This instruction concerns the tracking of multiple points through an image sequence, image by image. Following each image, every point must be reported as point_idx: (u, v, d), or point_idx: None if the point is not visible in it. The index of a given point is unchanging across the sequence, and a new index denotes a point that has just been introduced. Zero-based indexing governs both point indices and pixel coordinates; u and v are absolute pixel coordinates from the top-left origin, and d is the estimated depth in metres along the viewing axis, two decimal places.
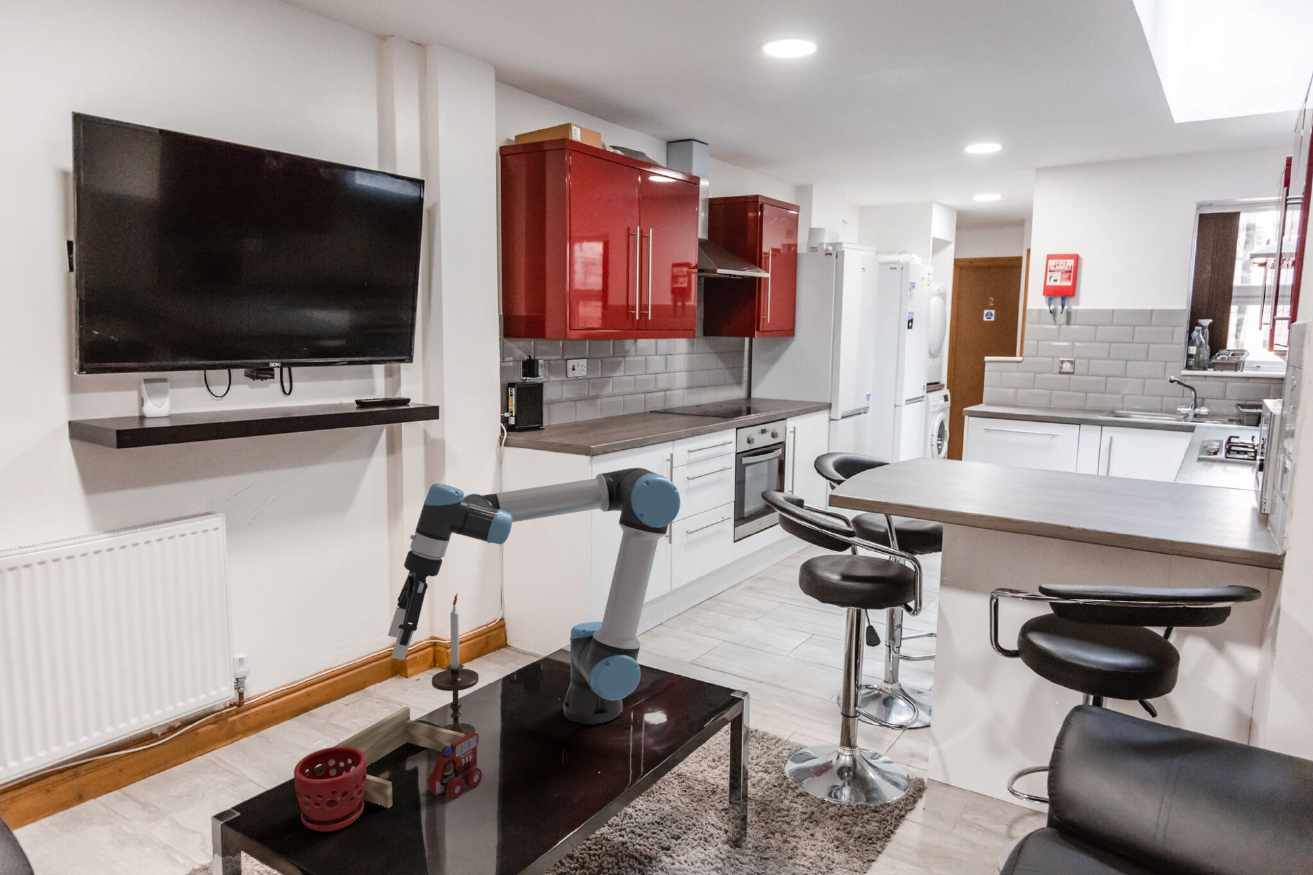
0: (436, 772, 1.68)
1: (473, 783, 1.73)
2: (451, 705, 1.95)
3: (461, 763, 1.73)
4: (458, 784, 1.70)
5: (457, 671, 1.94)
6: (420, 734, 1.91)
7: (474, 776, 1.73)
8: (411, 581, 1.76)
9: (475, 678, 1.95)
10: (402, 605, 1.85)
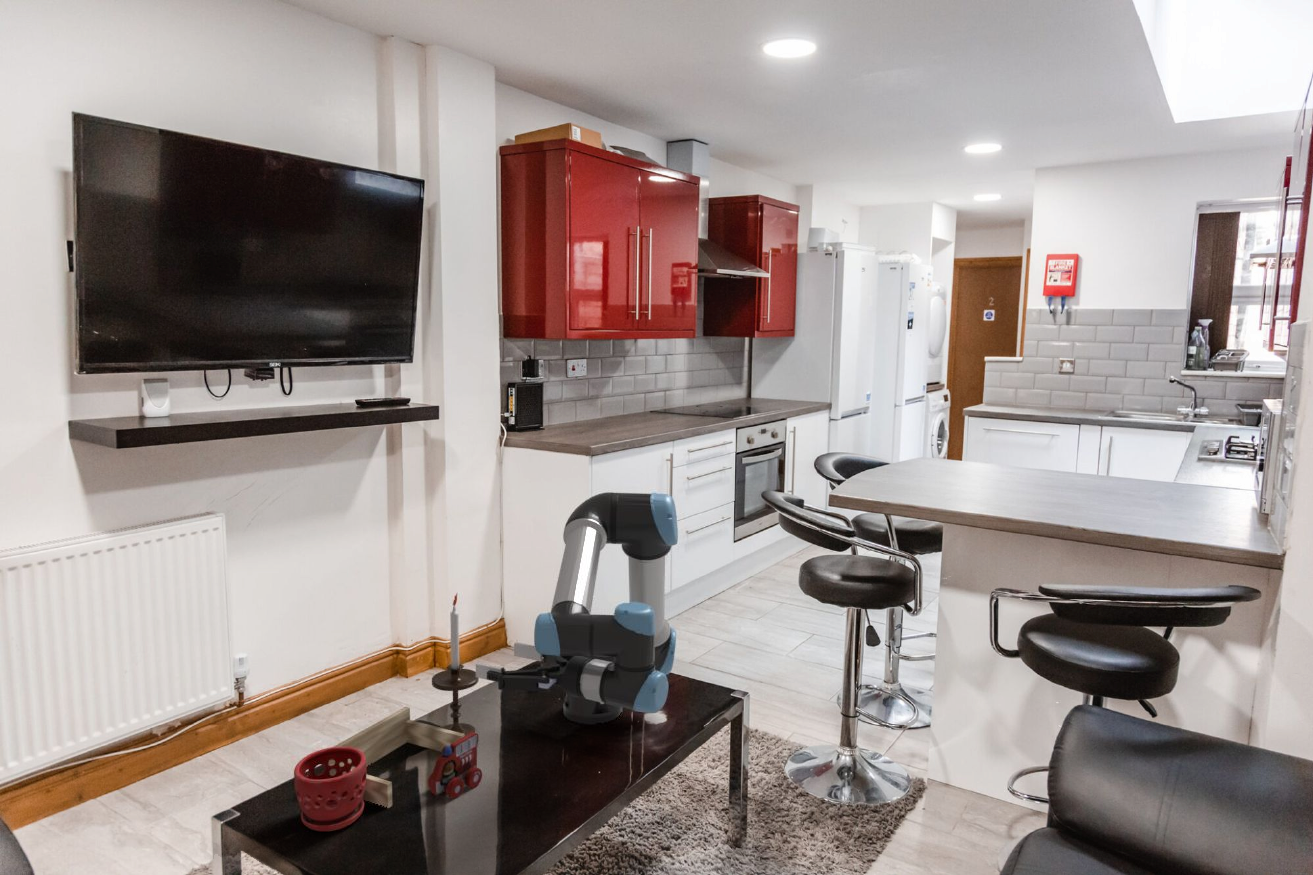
0: (436, 772, 1.68)
1: (473, 783, 1.73)
2: (451, 705, 1.95)
3: (461, 763, 1.73)
4: (458, 784, 1.70)
5: (457, 671, 1.94)
6: (420, 734, 1.91)
7: (474, 776, 1.73)
8: None
9: (475, 678, 1.95)
10: None
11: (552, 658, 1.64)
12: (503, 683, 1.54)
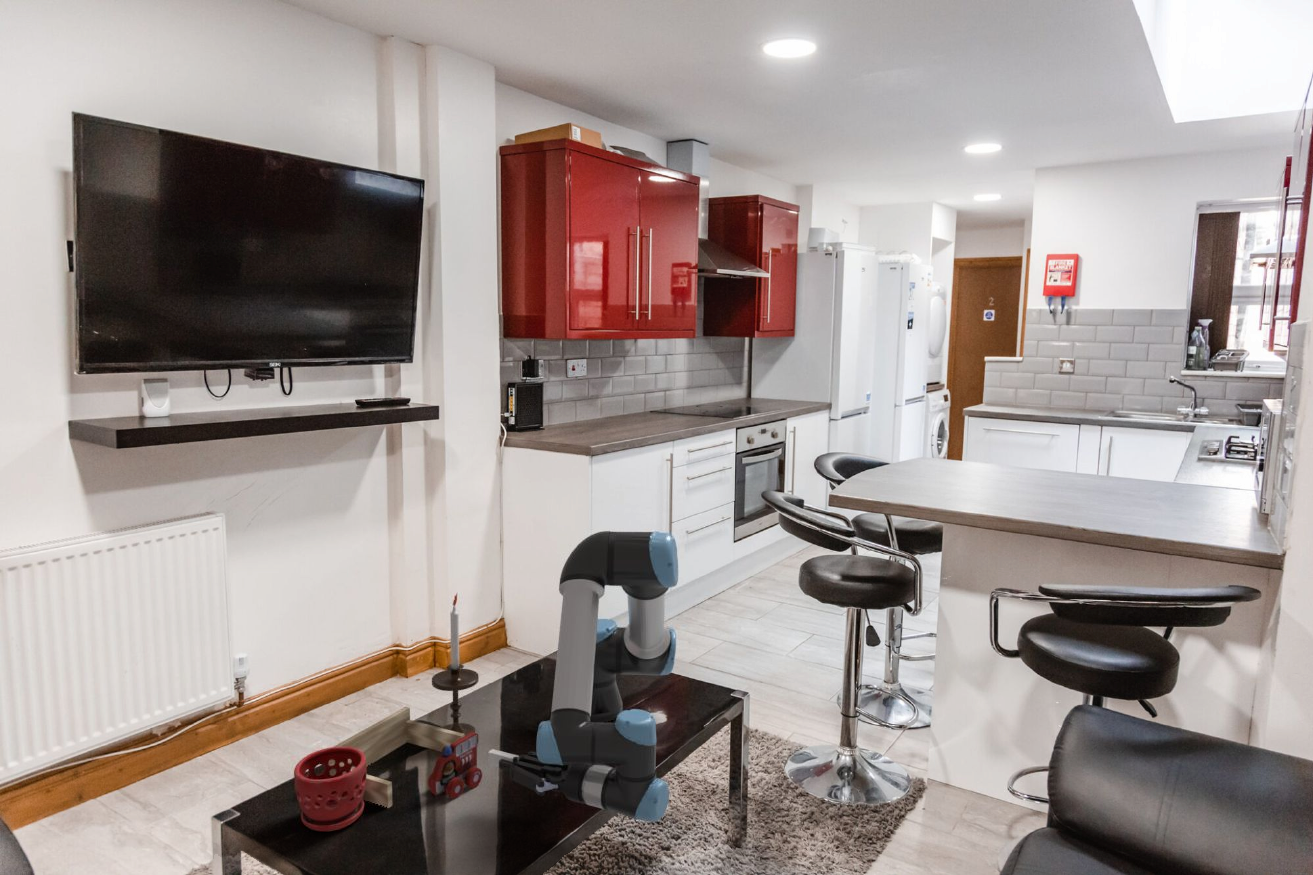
0: (436, 772, 1.68)
1: (473, 783, 1.73)
2: (451, 705, 1.95)
3: (461, 763, 1.73)
4: (458, 784, 1.70)
5: (457, 671, 1.94)
6: (420, 734, 1.91)
7: (474, 776, 1.73)
8: None
9: (475, 678, 1.95)
10: None
11: (542, 764, 1.63)
12: None
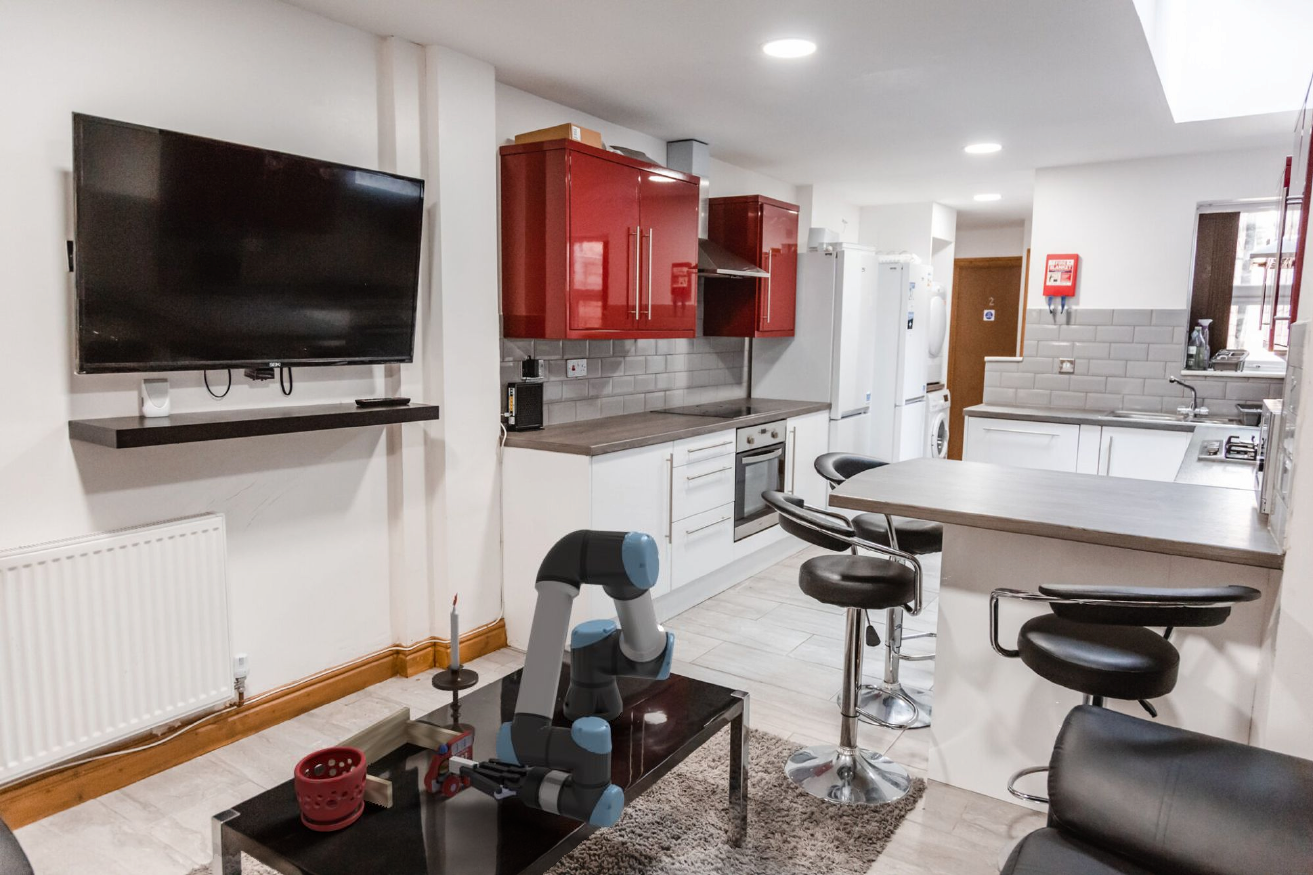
0: (432, 771, 1.68)
1: (469, 781, 1.73)
2: (451, 705, 1.95)
3: None
4: (454, 782, 1.70)
5: (457, 671, 1.94)
6: (420, 734, 1.91)
7: None
8: None
9: (475, 678, 1.95)
10: None
11: (502, 771, 1.66)
12: None
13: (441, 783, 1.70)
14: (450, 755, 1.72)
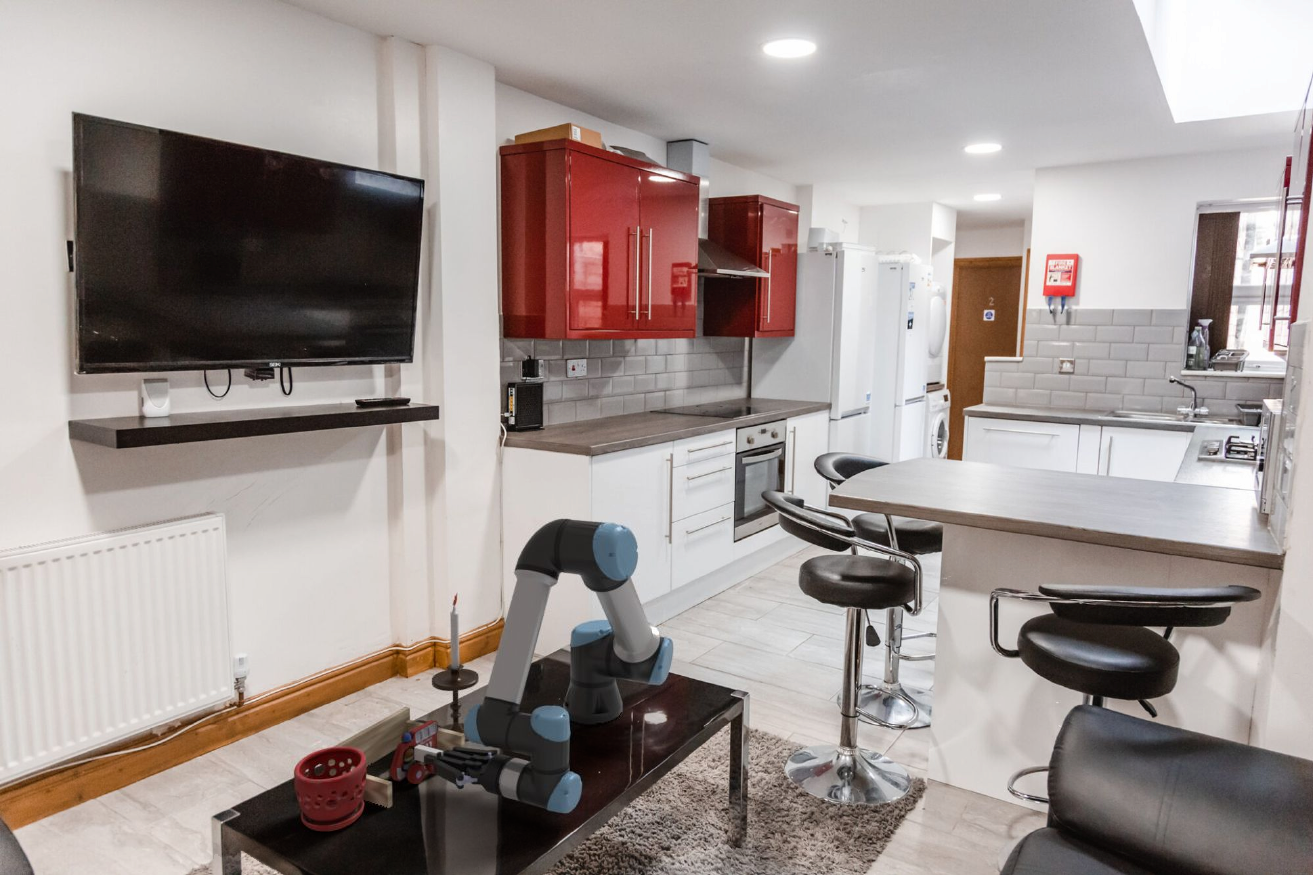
0: (397, 758, 1.72)
1: None
2: (451, 705, 1.95)
3: None
4: (419, 769, 1.74)
5: (457, 671, 1.94)
6: None
7: None
8: None
9: (475, 678, 1.95)
10: None
11: (465, 759, 1.71)
12: None
13: (407, 771, 1.74)
14: (414, 743, 1.76)
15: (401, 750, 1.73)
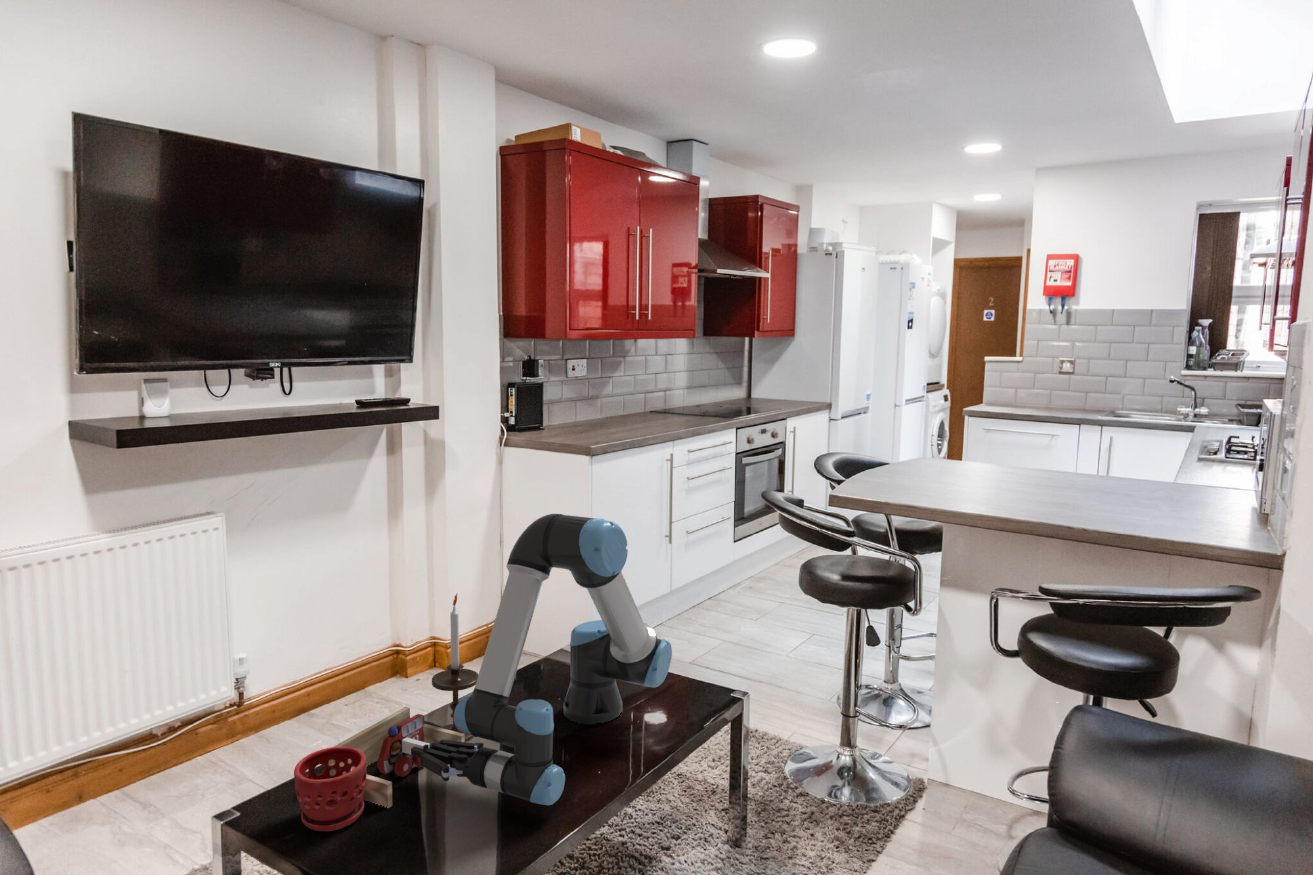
0: (383, 752, 1.75)
1: None
2: (451, 705, 1.95)
3: None
4: (406, 762, 1.77)
5: (457, 671, 1.94)
6: None
7: None
8: None
9: (475, 678, 1.95)
10: None
11: (451, 752, 1.74)
12: None
13: (394, 764, 1.77)
14: (401, 737, 1.79)
15: (388, 743, 1.76)
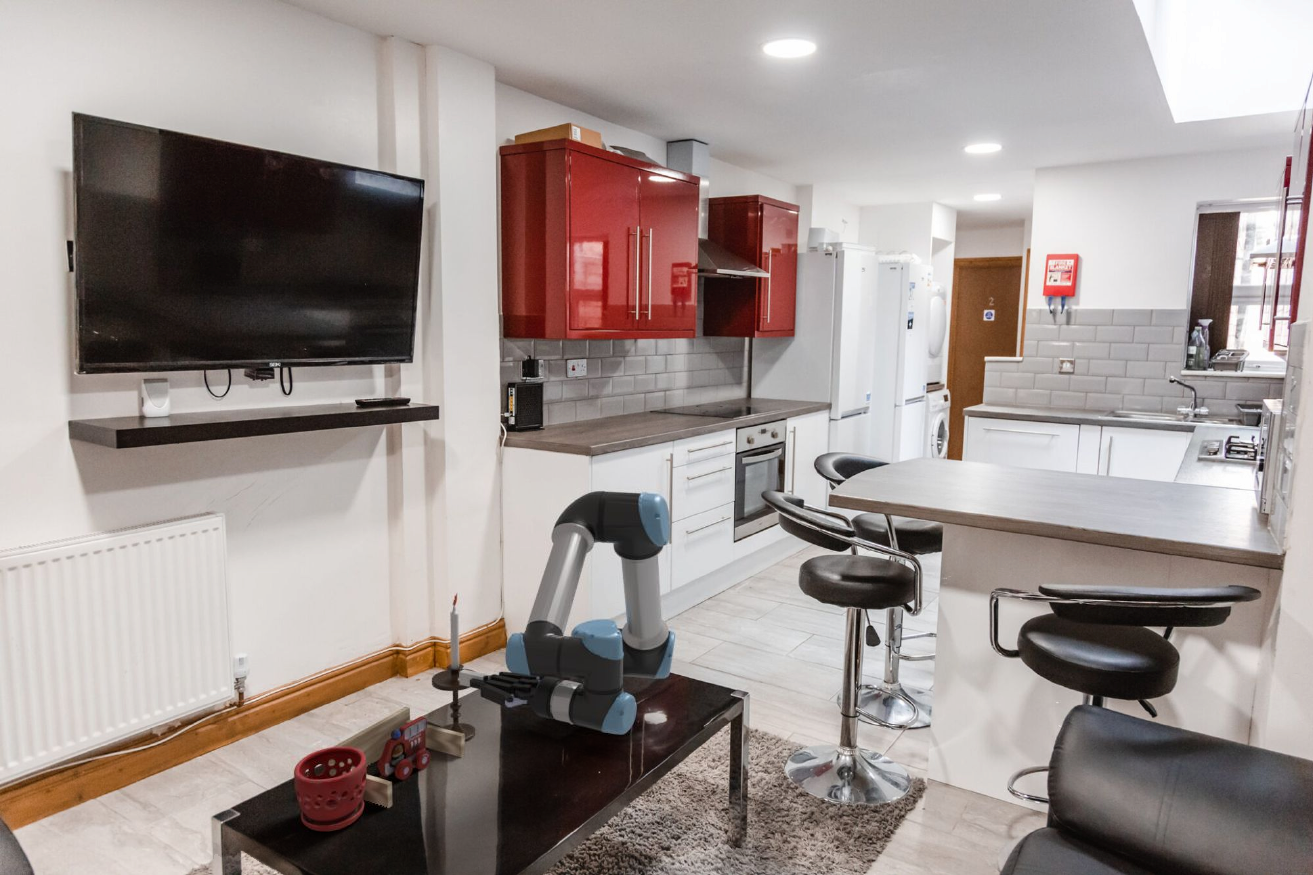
0: (385, 754, 1.75)
1: (421, 765, 1.80)
2: (451, 705, 1.95)
3: (410, 746, 1.80)
4: (407, 766, 1.77)
5: (457, 671, 1.94)
6: None
7: (422, 758, 1.80)
8: None
9: None
10: None
11: (513, 683, 1.65)
12: None
13: (394, 766, 1.77)
14: (403, 740, 1.78)
15: (390, 746, 1.75)
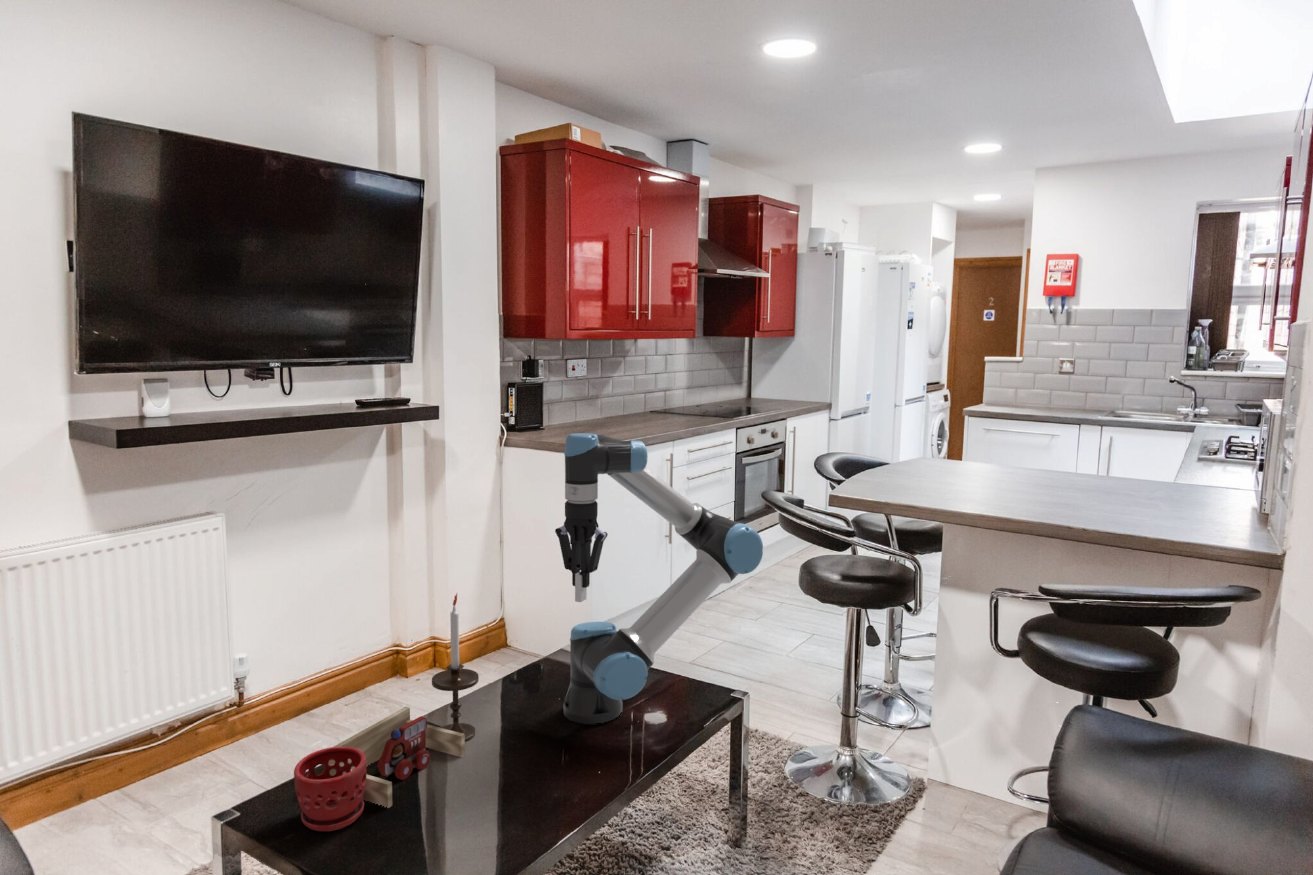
0: (385, 754, 1.75)
1: (421, 765, 1.80)
2: (451, 705, 1.95)
3: (410, 746, 1.80)
4: (407, 766, 1.77)
5: (457, 671, 1.94)
6: None
7: (422, 758, 1.80)
8: (585, 530, 1.87)
9: (475, 678, 1.95)
10: (577, 570, 1.91)
11: None
12: None
13: (394, 767, 1.77)
14: (403, 740, 1.78)
15: (390, 746, 1.75)
